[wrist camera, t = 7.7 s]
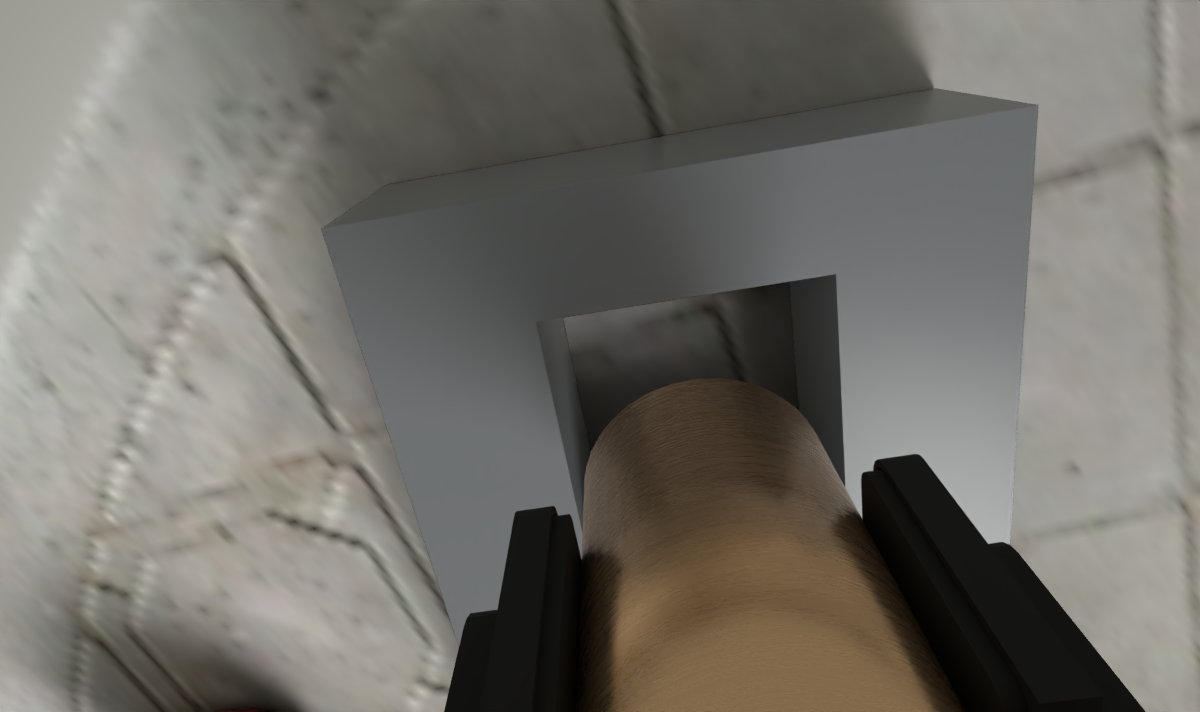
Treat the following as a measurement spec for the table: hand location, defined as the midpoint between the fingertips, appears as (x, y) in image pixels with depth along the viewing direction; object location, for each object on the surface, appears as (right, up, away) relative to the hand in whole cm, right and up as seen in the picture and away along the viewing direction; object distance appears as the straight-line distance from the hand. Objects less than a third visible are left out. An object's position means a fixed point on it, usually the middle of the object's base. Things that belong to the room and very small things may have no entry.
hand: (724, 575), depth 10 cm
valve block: (+1, 0, +9) cm, 9 cm away
